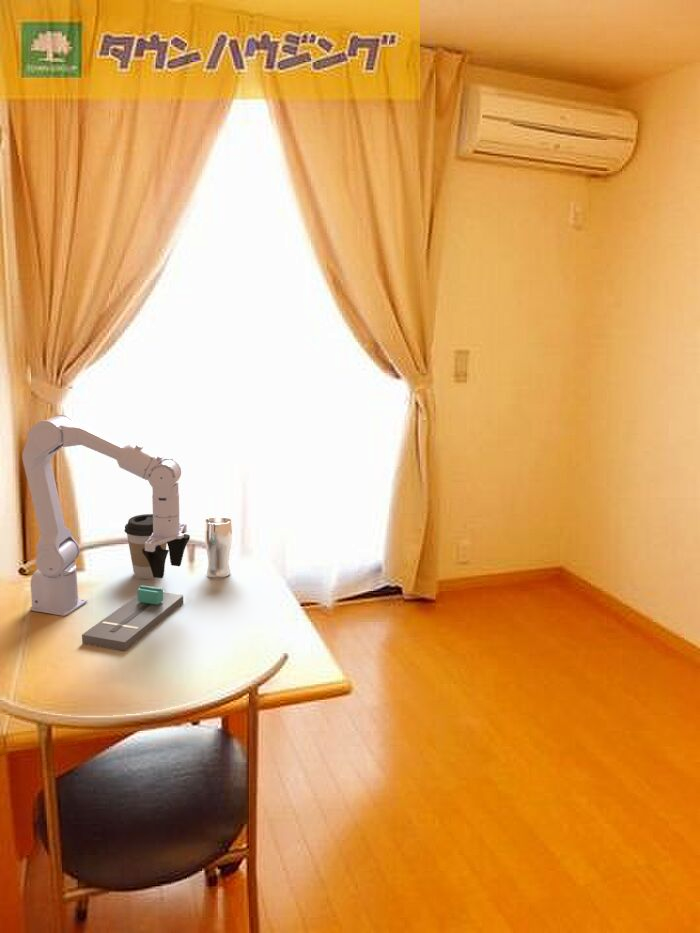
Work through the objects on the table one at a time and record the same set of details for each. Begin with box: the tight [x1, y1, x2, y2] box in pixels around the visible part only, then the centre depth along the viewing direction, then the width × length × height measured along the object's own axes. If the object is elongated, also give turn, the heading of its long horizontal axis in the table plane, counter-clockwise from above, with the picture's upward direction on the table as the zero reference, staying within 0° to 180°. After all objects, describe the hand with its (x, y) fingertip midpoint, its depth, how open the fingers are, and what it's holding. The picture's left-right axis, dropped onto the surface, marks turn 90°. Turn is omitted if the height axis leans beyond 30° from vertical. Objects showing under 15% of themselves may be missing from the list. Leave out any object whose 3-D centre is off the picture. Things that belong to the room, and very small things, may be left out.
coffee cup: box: [124, 513, 168, 580], centre depth 170 cm, size 11×11×15 cm
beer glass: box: [204, 515, 233, 579], centre depth 172 cm, size 7×7×15 cm
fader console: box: [81, 591, 184, 652], centre depth 145 cm, size 10×24×2 cm, turn 166°
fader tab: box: [137, 585, 164, 605], centre depth 150 cm, size 5×2×3 cm, turn 76°
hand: (167, 571), depth 149 cm, fingers open, 7 cm apart
